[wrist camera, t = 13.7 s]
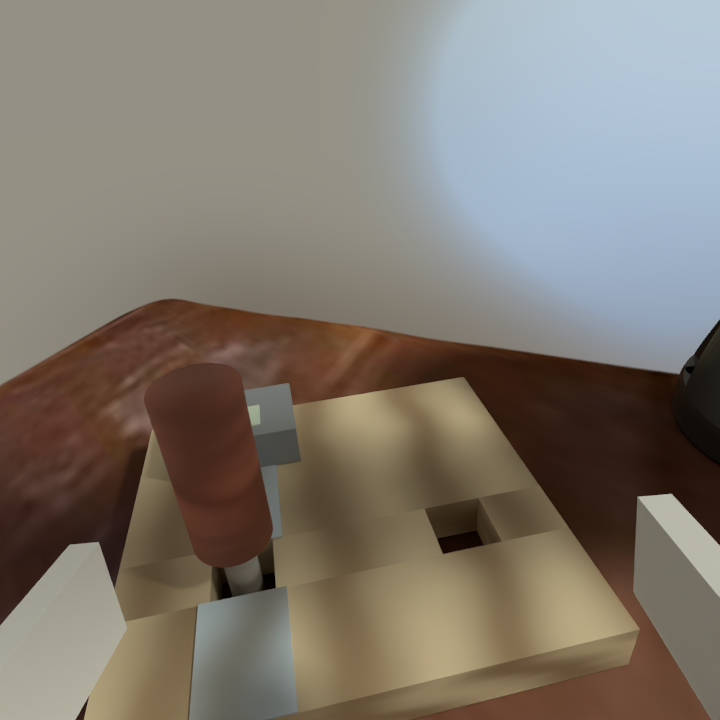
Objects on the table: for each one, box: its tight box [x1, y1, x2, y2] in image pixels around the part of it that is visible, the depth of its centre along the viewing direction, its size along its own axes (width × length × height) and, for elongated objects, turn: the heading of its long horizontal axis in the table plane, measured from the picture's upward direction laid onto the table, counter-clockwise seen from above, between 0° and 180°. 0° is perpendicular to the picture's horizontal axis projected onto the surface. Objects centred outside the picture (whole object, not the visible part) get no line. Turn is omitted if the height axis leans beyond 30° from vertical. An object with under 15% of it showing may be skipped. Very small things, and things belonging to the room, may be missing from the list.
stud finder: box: [244, 383, 301, 468], centre depth 33 cm, size 7×5×2 cm
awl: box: [144, 363, 273, 597], centre depth 23 cm, size 4×4×13 cm
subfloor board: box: [84, 377, 640, 720], centre depth 29 cm, size 22×20×3 cm
